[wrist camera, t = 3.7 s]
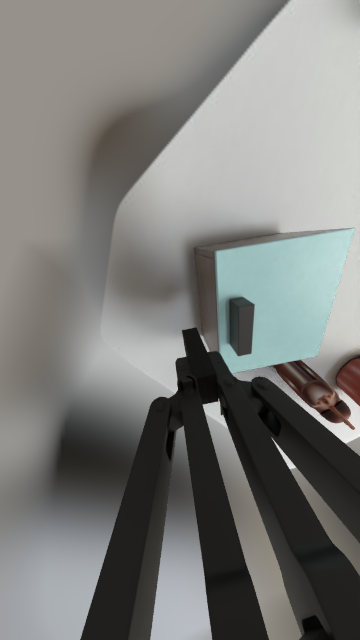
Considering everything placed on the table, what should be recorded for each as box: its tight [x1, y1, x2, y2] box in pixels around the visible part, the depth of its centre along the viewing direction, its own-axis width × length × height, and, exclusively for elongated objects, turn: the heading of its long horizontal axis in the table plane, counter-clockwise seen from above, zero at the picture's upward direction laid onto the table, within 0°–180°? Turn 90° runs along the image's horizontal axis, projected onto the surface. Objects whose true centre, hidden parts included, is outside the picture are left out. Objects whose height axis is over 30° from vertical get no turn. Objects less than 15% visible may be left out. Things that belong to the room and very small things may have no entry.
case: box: [194, 228, 347, 352], centre depth 24 cm, size 16×14×10 cm
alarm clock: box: [274, 360, 355, 430], centre depth 31 cm, size 11×5×15 cm, turn 47°
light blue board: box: [214, 228, 355, 374], centre depth 18 cm, size 16×14×3 cm
